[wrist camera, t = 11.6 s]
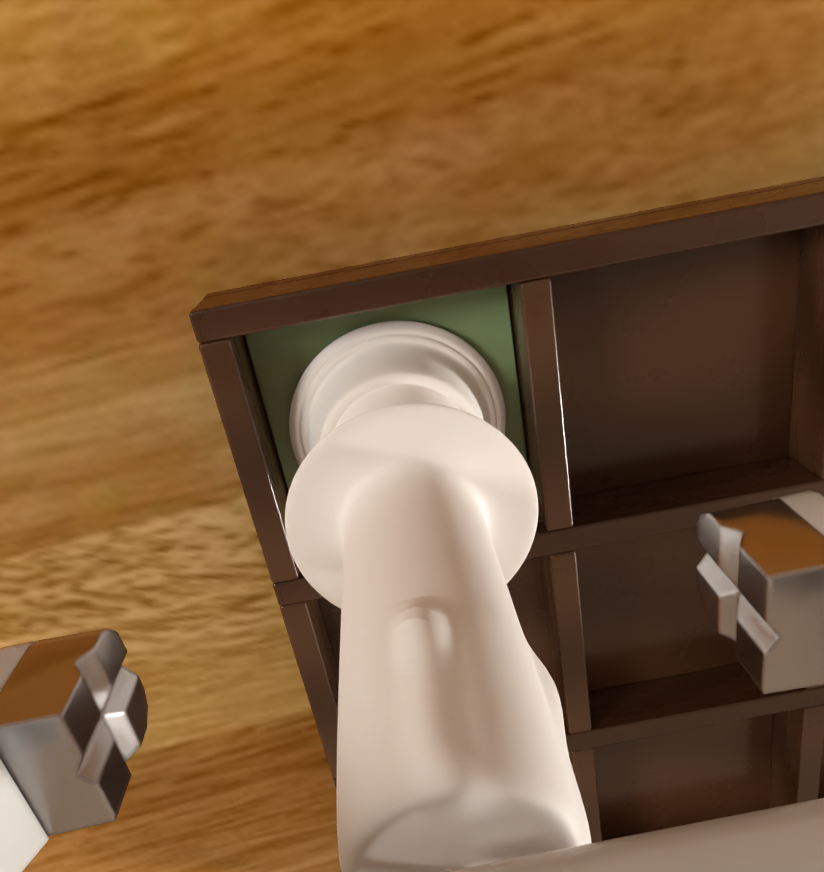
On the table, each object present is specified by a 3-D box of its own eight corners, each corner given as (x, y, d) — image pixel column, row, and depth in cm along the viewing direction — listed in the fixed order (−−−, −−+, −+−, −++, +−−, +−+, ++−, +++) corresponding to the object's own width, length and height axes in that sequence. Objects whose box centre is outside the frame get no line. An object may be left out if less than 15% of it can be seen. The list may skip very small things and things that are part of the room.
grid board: (206, 293, 16) (187, 312, 14) (1111, 121, 16) (1207, 118, 14) (380, 881, 25) (382, 940, 23) (968, 770, 25) (1017, 820, 23)
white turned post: (511, 318, 16) (840, 694, 5) (497, 515, 18) (710, 1081, 7) (282, 319, 16) (111, 730, 5) (295, 520, 18) (198, 1127, 7)
